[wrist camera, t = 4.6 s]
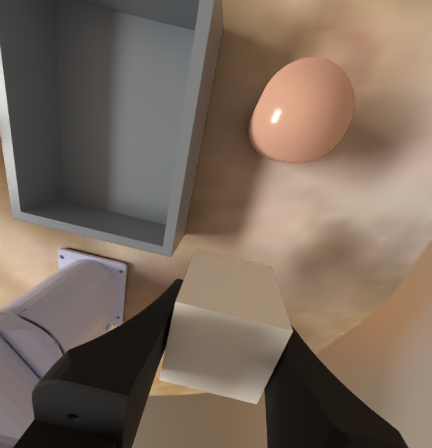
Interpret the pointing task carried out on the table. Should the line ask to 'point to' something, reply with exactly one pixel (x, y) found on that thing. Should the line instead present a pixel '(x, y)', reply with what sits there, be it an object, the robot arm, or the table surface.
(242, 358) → the cream cube
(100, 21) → the slate tote
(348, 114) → the terracotta cylinder
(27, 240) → the table surface
